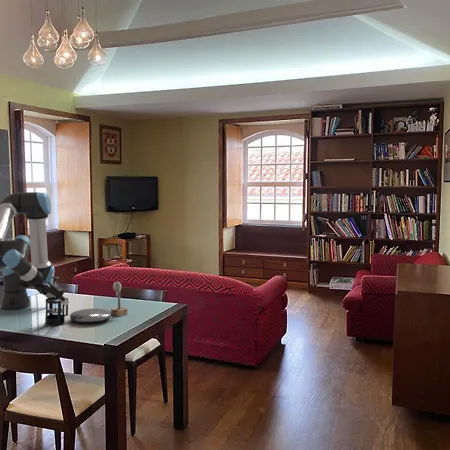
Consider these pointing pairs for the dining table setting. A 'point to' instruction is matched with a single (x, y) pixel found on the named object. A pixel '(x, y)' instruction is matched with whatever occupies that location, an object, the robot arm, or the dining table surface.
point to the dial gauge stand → (119, 310)
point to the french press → (55, 310)
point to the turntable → (90, 315)
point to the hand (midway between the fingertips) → (61, 302)
